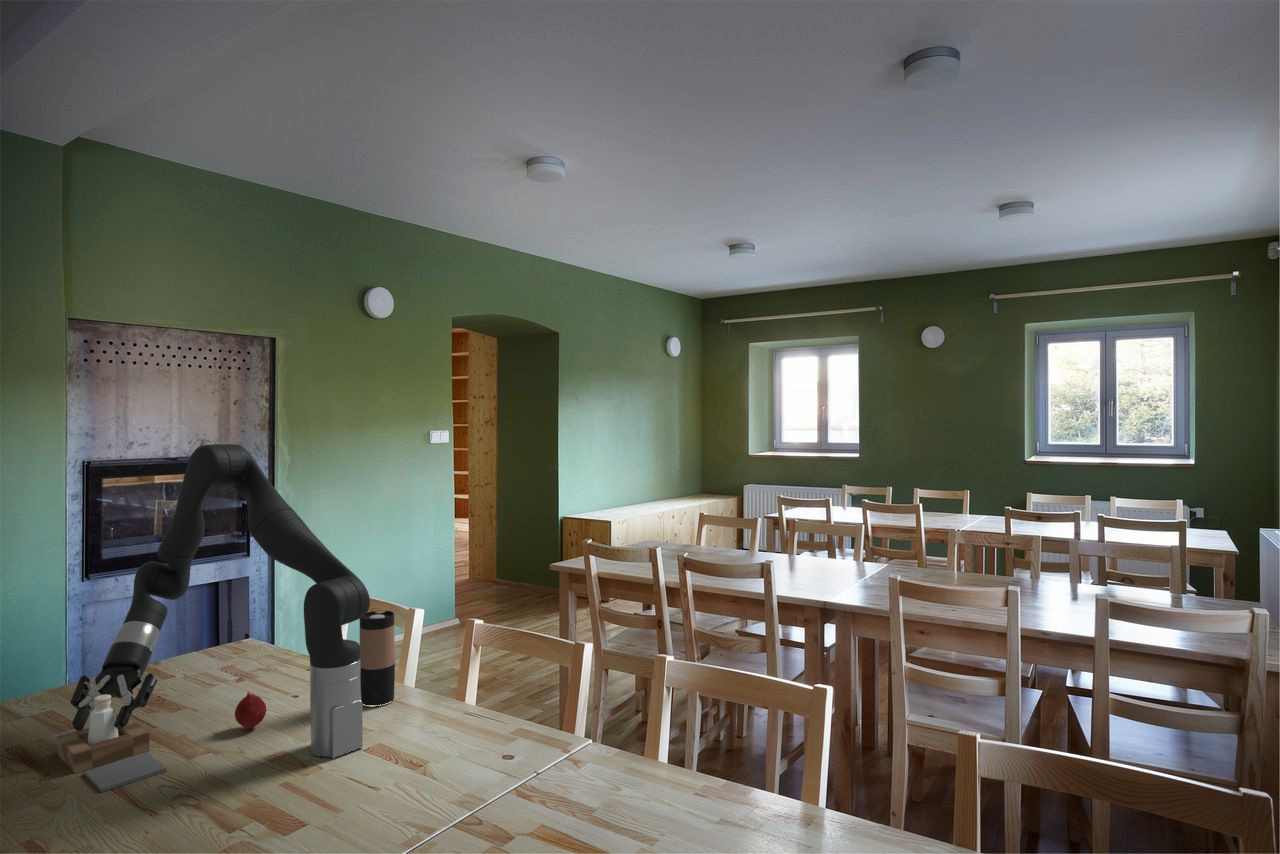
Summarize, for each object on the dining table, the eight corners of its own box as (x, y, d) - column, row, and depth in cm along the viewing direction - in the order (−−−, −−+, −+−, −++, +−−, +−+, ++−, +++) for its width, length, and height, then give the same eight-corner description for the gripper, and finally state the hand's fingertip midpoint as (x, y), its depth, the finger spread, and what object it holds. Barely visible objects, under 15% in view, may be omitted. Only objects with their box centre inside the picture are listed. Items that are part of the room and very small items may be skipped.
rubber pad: (166, 771, 138) (165, 767, 138) (101, 792, 130) (101, 789, 130) (147, 755, 144) (147, 752, 144) (84, 774, 136) (84, 771, 136)
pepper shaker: (122, 753, 145) (121, 696, 145) (87, 761, 141) (86, 704, 141) (118, 743, 149) (117, 689, 149) (84, 752, 146) (83, 696, 145)
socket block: (149, 750, 146) (149, 732, 146) (74, 773, 137) (74, 754, 137) (129, 733, 154) (128, 717, 154) (56, 754, 144) (56, 736, 144)
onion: (272, 723, 159) (271, 686, 158) (255, 735, 153) (255, 696, 153) (246, 722, 159) (245, 685, 159) (228, 734, 153) (228, 695, 153)
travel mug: (372, 710, 165) (371, 621, 165) (353, 702, 170) (352, 615, 170) (402, 700, 171) (401, 613, 171) (382, 692, 176) (381, 608, 176)
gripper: (87, 641, 152) (48, 722, 140) (161, 638, 153) (129, 719, 142) (103, 658, 157) (67, 737, 146) (175, 656, 158) (145, 734, 147)
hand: (97, 728), depth 144 cm, fingers open, 7 cm apart
